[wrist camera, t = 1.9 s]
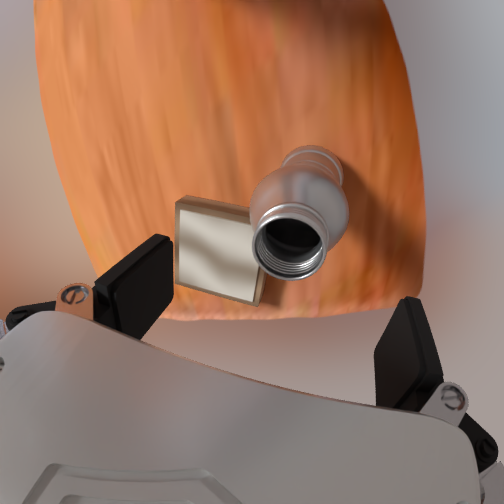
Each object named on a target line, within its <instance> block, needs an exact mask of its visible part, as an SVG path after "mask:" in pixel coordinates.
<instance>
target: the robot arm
mask: <svg viewBox="0 0 504 504" xmlns="http://www.w3.org/2000/svg"><path fill="white" fill-rule="evenodd" d="M173 295H174V285H173V242H172V241H170V238H169V237H168V236H164V235H160V234H154V235H153V236H152V237H150V238H149V239H148V240H146V241H145V242H144V243H142V244H141V245H140V246H138V247H137V248H136V249H135V250H133V251H132V252H131V253H129V254H128V255H127V256H126V257H124V258H123V259H122V260H121V261H119V262H118V263H117V264H116V265H114V266H113V267H112V268H111V269H109V270H108V271H107V272H106V273H104V274H103V275H102V276H101V277H99V278H98V279H97V280H96V281H95V286H94V287H93V288H91V287H90V286H88V285H86V284H83V283H74V284H70V285H67V286H65V287H64V288H63V289H61V290H60V292H59V293H58V296H57V300H56V301H51V302H45V303H39V304H32V305H26V306H21V307H17V308H15V309H14V310H12V311H11V312H10V313H9V314H8V316H7V318H6V322H3V320H0V504H504V466H503V464H502V463H501V461H500V462H498V463H497V461H496V460H497V457H498V446H497V444H496V442H495V440H494V439H493V438H492V437H491V436H490V435H489V434H488V433H487V432H486V431H485V430H484V429H483V428H482V427H481V426H480V425H479V424H478V423H477V422H476V421H474V420H473V419H472V418H471V417H470V416H469V415H468V414H467V413H466V410H467V408H468V397H467V395H466V393H465V391H464V390H463V389H462V388H461V387H460V386H459V385H457V384H455V383H452V382H444V379H443V371H442V367H441V363H440V360H439V356H438V352H437V349H436V346H435V342H434V339H433V336H432V333H431V330H430V326H429V323H428V320H427V317H426V315H425V312H424V309H423V306H422V303H421V300H420V299H417V298H413V297H409V296H406V297H405V298H404V299H401V300H400V301H399V303H398V305H397V307H396V309H395V311H394V313H393V315H392V317H391V319H390V321H389V323H388V325H387V327H386V329H385V331H384V333H383V335H382V336H381V338H380V340H379V342H378V344H377V346H376V348H375V351H374V367H375V385H376V386H375V387H376V406H373V405H367V404H361V403H356V402H350V401H344V400H338V399H333V398H328V397H323V396H319V395H314V394H309V393H305V392H301V391H296V390H292V389H288V388H284V387H280V386H276V385H272V384H268V383H265V382H261V381H257V380H254V379H250V378H247V377H243V376H240V375H237V374H233V373H230V372H227V371H224V370H220V369H217V368H214V367H211V366H208V365H205V364H202V363H199V362H196V361H193V360H191V359H188V358H185V357H182V356H179V355H177V354H174V353H171V352H168V351H166V350H163V349H161V348H158V347H155V346H153V345H151V344H148V343H145V342H143V341H141V339H142V337H143V336H144V334H146V332H147V331H148V330H149V329H150V327H151V326H152V325H153V323H154V322H155V321H156V320H157V319H158V317H159V316H160V315H161V314H162V312H163V311H164V310H165V309H166V307H167V306H168V305H169V304H170V303H171V301H172V299H173Z"/></svg>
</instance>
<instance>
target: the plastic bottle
mask: <svg viewBox="0 0 504 504" xmlns="http://www.w3.org/2000/svg"><path fill="white" fill-rule="evenodd" d="M343 181H344V173H343V168H342V165H341V163H340V161H339V160H338V158H337V157H336V156H335V155H334V154H333V153H332V152H330V151H329V150H327V149H325V148H323V147H320V146H315V145H307V146H301V147H299V148H296V149H295V150H293V151H291V152H290V153H289V154H288V155H287V156H286V157H285V159H284V160H283V162H282V165H281V168H279V169H277V170H275V171H273V172H272V173H270V174H269V175H267V176H266V177H265V178H264V179H263V180H262V181H261V182H260V183H259V184H258V185H257V187H256V188H255V190H254V192H253V195H252V197H251V201H250V207H249V210H250V223H251V226H252V230H253V232H254V235H253V240H252V252H253V255H254V258H255V260H256V262H257V263H258V265H259V266H260V267H261V268H262V269H263V270H264V271H265V272H266V273H268V274H269V275H271V276H273V277H275V278H278V279H282V280H288V281H295V280H301V279H305V278H307V277H309V276H311V275H313V274H314V273H315V272H317V271H318V269H319V268H320V267H321V266H322V264H323V262H324V260H325V257H326V254H327V252H328V251H329V250H331V249H332V248H333V247H334V246H335V245H336V244H337V243H338V241H339V240H340V239H341V238H342V236H343V235H344V233H345V231H346V229H347V225H348V222H349V206H348V201H347V198H346V196H345V193H344V191H343V189H342V188H341V187H342V185H343Z"/></svg>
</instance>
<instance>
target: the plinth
mask: <svg viewBox="0 0 504 504" xmlns="http://www.w3.org/2000/svg"><path fill="white" fill-rule="evenodd" d="M253 235H254V232H253V230H252V226H251V223H250V210H249V208H248V207H243V206H239V205H234V204H229V203H224V202H219V201H214V200H209V199H204V198H199V197H194V196H189V195H186V196H184V197H183V198H181V199H180V200H178V201H176V202H175V284H178V285H182V286H185V287H188V288H192V289H195V290H198V291H202V292H205V293H209V294H212V295H216V296H219V297H223V298H226V299H230V300H233V301H237V302H241V303H244V304H248V305H252V306H256V307H258V306H259V303H260V301H261V298H262V295H263V292H264V286H265V281H266V276H267V273H266V272H265V271H264V270H263V269H262V268H261V267H260V266H259V265H258V263H257V262H256V260H255V258H254V255H253V252H252V240H253Z"/></svg>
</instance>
